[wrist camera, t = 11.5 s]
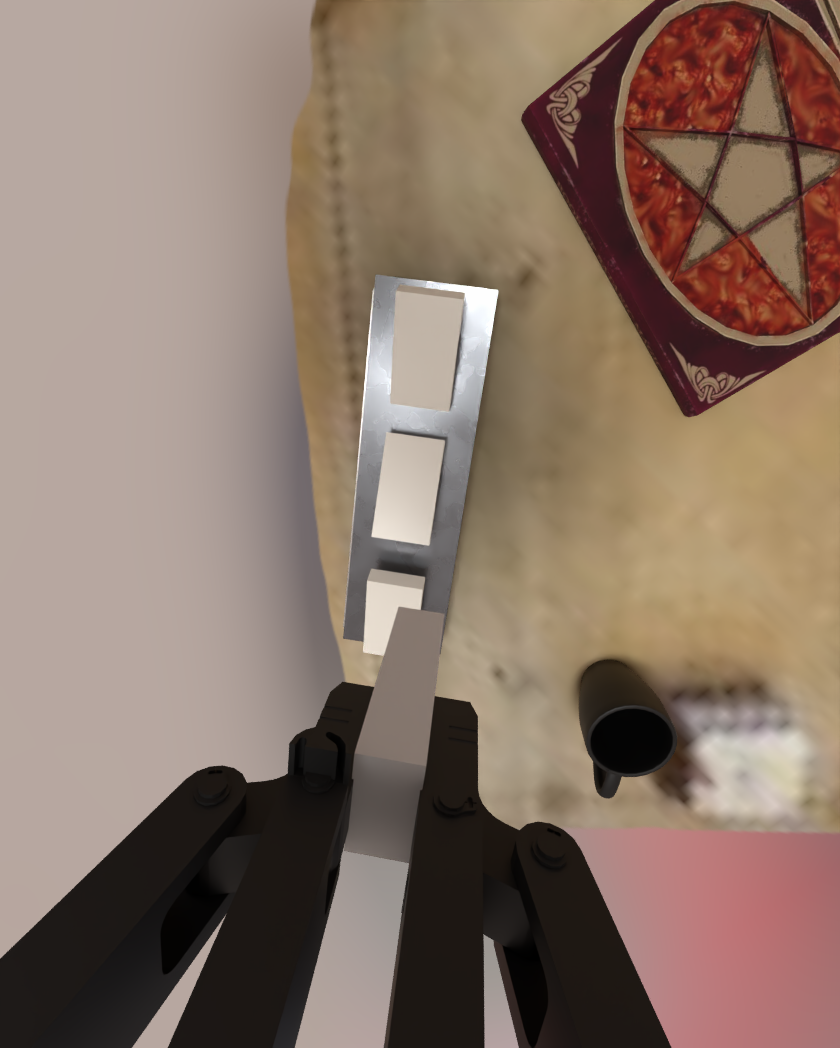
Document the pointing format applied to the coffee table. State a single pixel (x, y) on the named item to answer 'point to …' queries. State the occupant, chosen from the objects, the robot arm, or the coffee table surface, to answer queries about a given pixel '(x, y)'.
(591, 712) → the mug
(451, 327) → the block
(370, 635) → the block
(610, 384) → the coffee table surface
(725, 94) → the book
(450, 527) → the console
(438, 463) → the white rectangular block
